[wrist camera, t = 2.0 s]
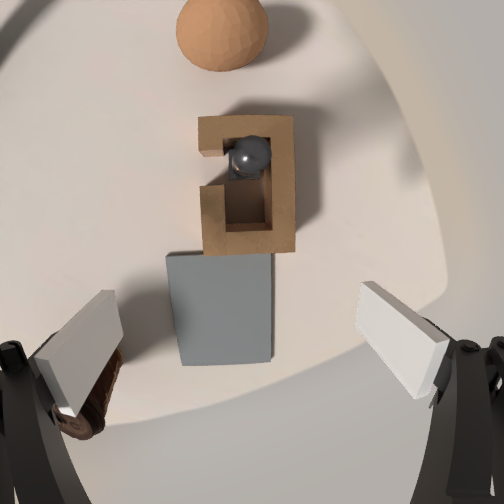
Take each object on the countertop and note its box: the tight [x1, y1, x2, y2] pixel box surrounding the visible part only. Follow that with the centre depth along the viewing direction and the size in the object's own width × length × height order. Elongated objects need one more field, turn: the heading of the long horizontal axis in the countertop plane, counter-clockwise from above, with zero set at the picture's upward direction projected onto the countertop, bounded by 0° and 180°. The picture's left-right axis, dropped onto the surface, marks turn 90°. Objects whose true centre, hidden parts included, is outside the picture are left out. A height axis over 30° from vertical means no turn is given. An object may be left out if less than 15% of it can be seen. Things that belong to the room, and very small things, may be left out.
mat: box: [166, 253, 271, 366], centre depth 30 cm, size 14×11×1 cm
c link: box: [198, 115, 295, 256], centre depth 25 cm, size 12×8×5 cm, turn 1°
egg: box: [176, 0, 268, 72], centre depth 18 cm, size 8×8×11 cm
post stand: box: [229, 135, 272, 180], centre depth 22 cm, size 3×3×10 cm
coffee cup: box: [52, 347, 123, 440], centre depth 24 cm, size 9×8×13 cm
